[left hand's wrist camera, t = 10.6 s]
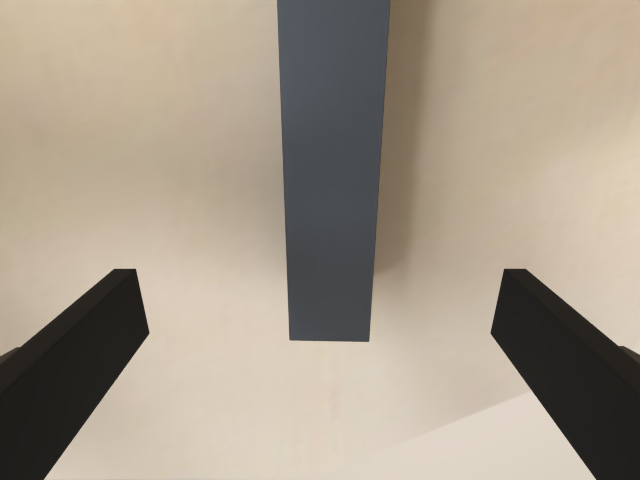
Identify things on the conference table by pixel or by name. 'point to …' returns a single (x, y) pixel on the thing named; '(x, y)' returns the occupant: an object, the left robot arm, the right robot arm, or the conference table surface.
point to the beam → (331, 160)
